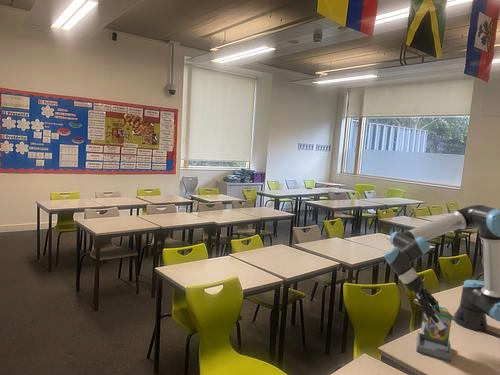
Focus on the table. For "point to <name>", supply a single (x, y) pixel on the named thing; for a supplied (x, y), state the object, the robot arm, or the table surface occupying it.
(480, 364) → the table surface
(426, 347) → the tray
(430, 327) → the chalk box
